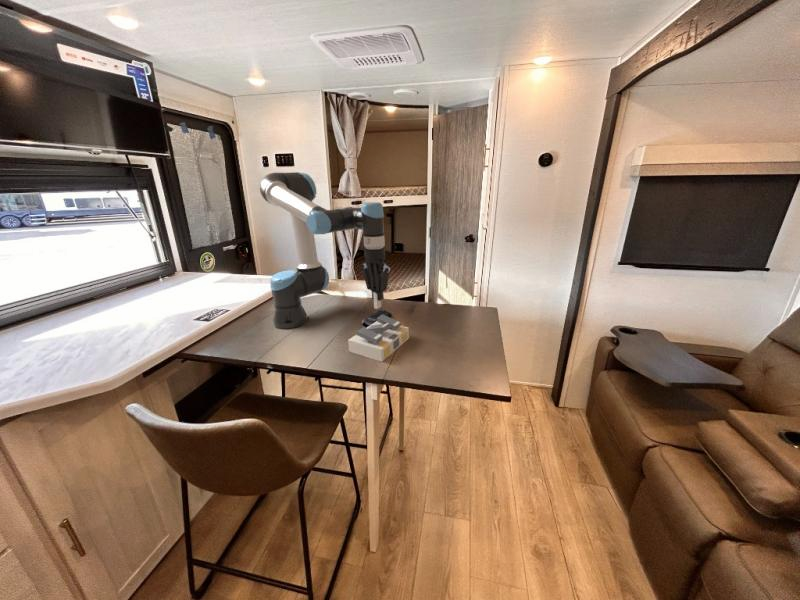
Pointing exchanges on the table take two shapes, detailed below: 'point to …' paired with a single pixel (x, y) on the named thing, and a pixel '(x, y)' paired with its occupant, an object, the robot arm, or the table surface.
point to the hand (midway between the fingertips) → (377, 307)
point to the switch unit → (379, 343)
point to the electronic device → (373, 317)
